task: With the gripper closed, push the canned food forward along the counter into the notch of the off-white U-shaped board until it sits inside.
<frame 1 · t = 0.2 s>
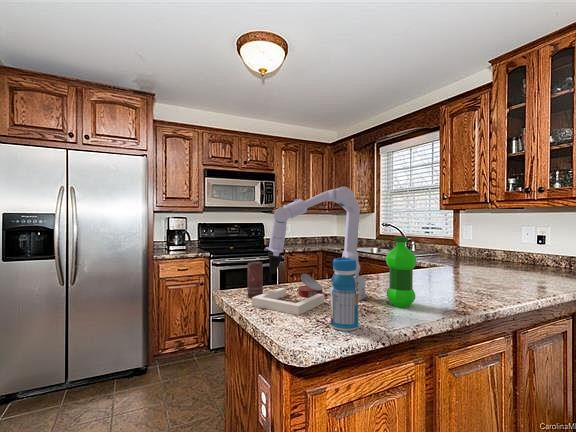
hand: (272, 271, 127), 11 cm above the countertop, tool pointing down, fingers open, 7 cm apart
plastic bottle: (400, 305, 117), on the countertop
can: (255, 297, 130), on the countertop
notched board: (290, 303, 120), on the countertop
canned food: (310, 295, 133), on the countertop
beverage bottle: (344, 327, 95), on the countertop
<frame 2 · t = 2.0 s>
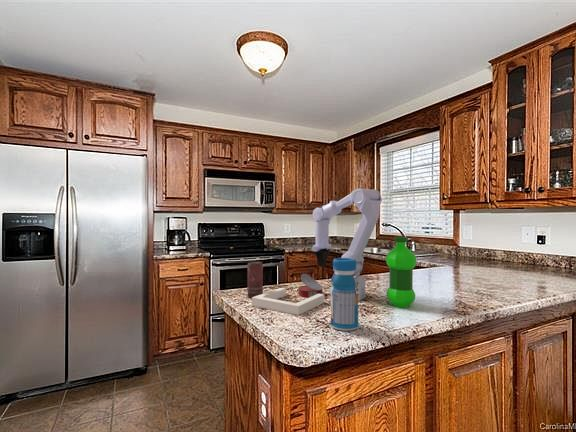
hand: (322, 266, 141), 10 cm above the countertop, tool pointing down, fingers closed
nothing on the countertop moved.
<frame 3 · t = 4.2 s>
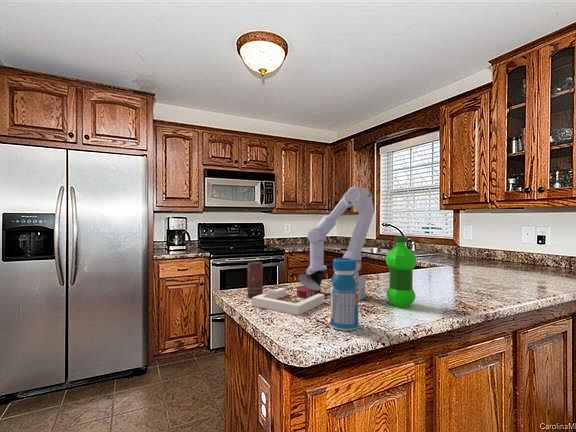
hand: (316, 288, 137), 1 cm above the countertop, tool pointing down, fingers closed
canned food: (308, 296, 131), on the countertop, touching gripper
everything else where it was.
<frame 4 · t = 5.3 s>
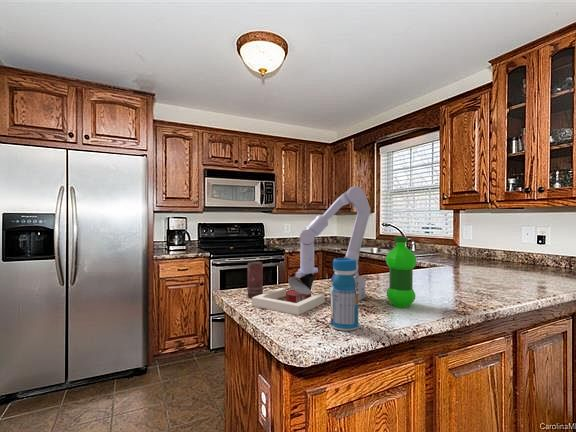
hand: (307, 292, 130), 1 cm above the countertop, tool pointing down, fingers closed
canned food: (298, 300, 125), on the countertop, touching gripper
everything else where it was.
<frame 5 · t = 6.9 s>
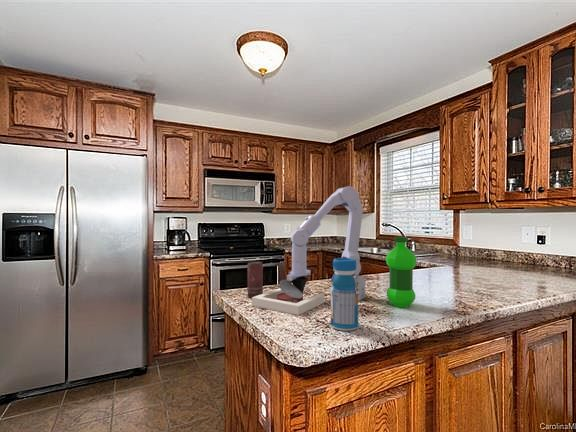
hand: (299, 296, 125), 1 cm above the countertop, tool pointing down, fingers closed
canned food: (290, 304, 119), on the countertop, touching gripper
everything else where it was.
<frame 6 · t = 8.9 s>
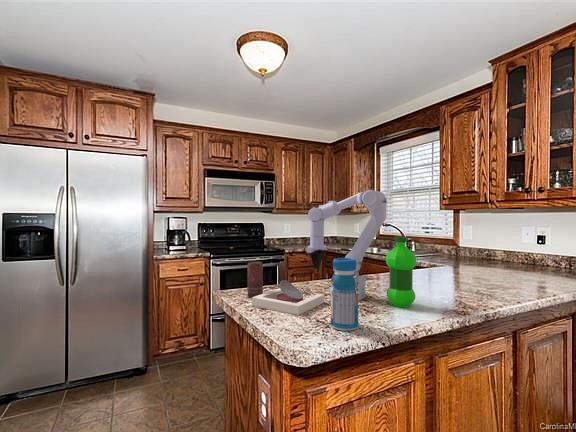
hand: (316, 268, 137), 10 cm above the countertop, tool pointing down, fingers closed
canned food: (290, 304, 119), on the countertop
everything else where it was.
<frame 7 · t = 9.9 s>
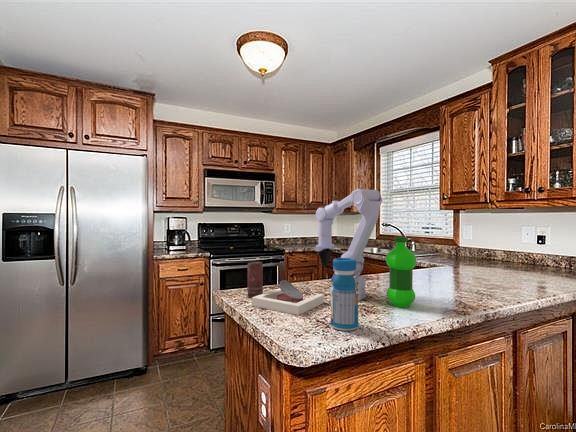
hand: (324, 266, 141), 10 cm above the countertop, tool pointing down, fingers closed
nothing on the countertop moved.
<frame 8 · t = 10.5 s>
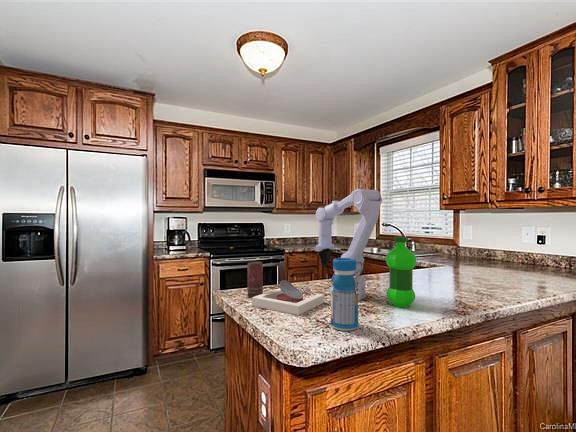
hand: (324, 266, 141), 10 cm above the countertop, tool pointing down, fingers closed
nothing on the countertop moved.
at the end: canned food inside the target area (0.4 cm from its centre), on the countertop; canned food tilted 1° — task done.
